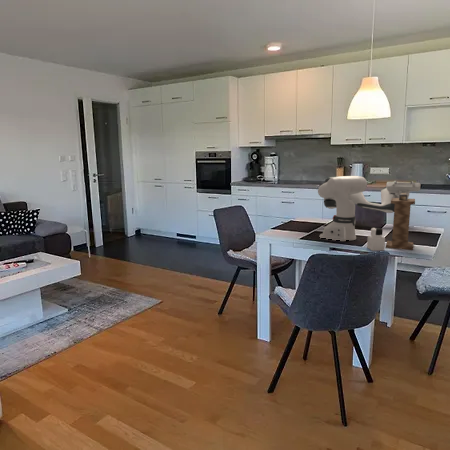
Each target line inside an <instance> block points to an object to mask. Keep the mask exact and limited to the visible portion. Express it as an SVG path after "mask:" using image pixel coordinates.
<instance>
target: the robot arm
mask: <svg viewBox="0 0 450 450" xmlns="http://www.w3.org/2000/svg"><path fill="white" fill-rule="evenodd" d="M367 186H368V182H367V179H366V178H365V177H363V176H360V175H344V176H343V175H341V176H339V175H338V176H330V177H327V178H325V180H324V183H322V184H321V185H319V186H318V189H317V193H318V196H320V197H321V198H323V205H324V207H325V208H327V209H330V210H332V209H336V213H335V215H333V216H332V222H330V223H328V224H327V225H326V226H325V227H324V228H323V232H322V233H320V234H319V237H320V238H319V237H318V238H319V239H321V238H326V239H325V240H328V239H332V240H331V241H336V240H340V241H339V242H346V240H349V241H354V240H355V241H356V240H357V235H356V227H355V226H356V221H357V219H356V206H357V207H359V208H360V209H364V210H365V209H367V210H372V211H378V212H383V213H387V214H394V207H395V204H393V203H391V199H392V198H399V195H400V194H402V193H406V194H407V199H409V197H410V193H411V192H419V191H421V183H420V182H414V181H413V180H410V182H406V181H403V182H402V181H397V180H394V181H387V182H386V186H385V187H383V188H382V189H381V190H380V197H381V198H380V201H381V204H380V203H377V202H376V203H374V202H370V201H368V200H367V199H366V197H365V195H364V192H365V191H366V189H367Z"/></svg>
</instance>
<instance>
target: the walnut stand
mask: <svg viewBox="0 0 450 450" xmlns="http://www.w3.org/2000/svg"><path fill="white" fill-rule="evenodd" d="M391 203H393V204H395V207H394V212H393V223H392V225H393V226H392V235H391V237H392V238H391V239H392V240H386V242H385V248H386V249H396V250H397V249H398V250H407V251H408V250H409V251H413V250H414V242H412V241H411V242H410V241H409V231H410V230H409V229H410V220H411V219H410V217H411V208H412V207H411V205H416V199H415V198H408V199H407V200H399V198H392V199H391Z"/></svg>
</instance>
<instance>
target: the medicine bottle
mask: <svg viewBox="0 0 450 450" xmlns="http://www.w3.org/2000/svg"><path fill="white" fill-rule="evenodd" d="M383 234H384V233H383V228H381V227H371V229H370V235H367V240H366V241H367V243H366V248H368V249H369V250H370V251H371V252H373V251H374V252H375V251H376V252H378V251H380V252H381V251H385V248H386V237H384V236H383Z"/></svg>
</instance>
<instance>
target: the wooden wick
mask: <svg viewBox="0 0 450 450" xmlns="http://www.w3.org/2000/svg"><path fill="white" fill-rule="evenodd" d="M399 200H407V194H406V193H402V194H400V195H399Z"/></svg>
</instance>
